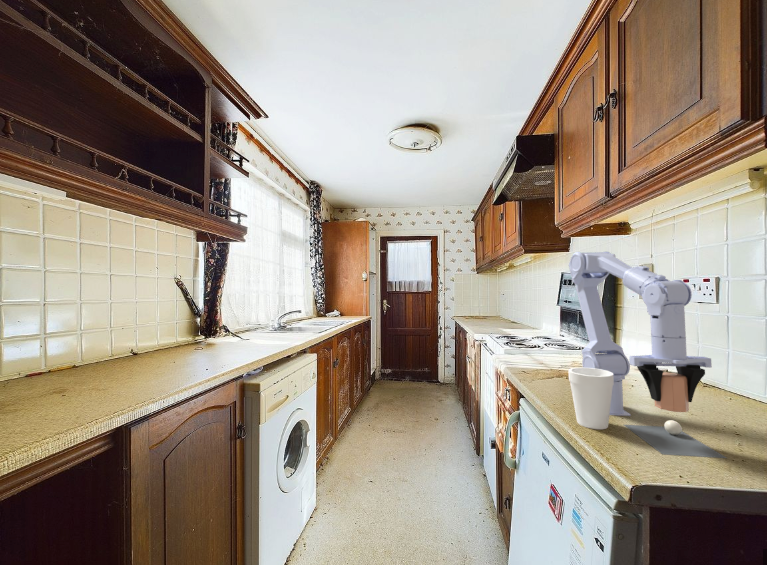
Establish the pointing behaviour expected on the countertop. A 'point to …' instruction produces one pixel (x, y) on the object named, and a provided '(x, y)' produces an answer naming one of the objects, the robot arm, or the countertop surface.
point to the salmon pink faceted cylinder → (673, 393)
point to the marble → (673, 427)
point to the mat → (673, 442)
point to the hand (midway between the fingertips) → (671, 400)
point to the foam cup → (591, 396)
